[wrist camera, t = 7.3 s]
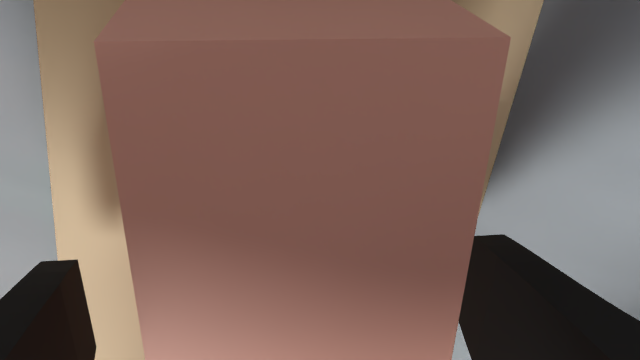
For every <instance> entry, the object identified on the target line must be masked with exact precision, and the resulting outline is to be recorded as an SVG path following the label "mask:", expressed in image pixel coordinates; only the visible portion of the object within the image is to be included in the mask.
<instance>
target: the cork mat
mask: <svg viewBox="0 0 640 360" xmlns="http://www.w3.org/2000/svg"><path fill="white" fill-rule="evenodd" d="M33 1H34V12H35V23H36V33H37V44H38V54H39V65H40V76H41V86H42V97H43V108H44V118H45V129H46V139H47V150H48V161H49V171H50V182H51V192H52V203H53V214H54V224H55V235H56V246H57V256H58V261H60V260H77V259H78V263H79V268H80V272H81V277H82V282H83V286H84V291H85V296H86V300H87V305H88V310H89V314H90V319H91V324H92V328H93V333H94V337H95V342H96V354H95V360H145V355H144V349H143V343H142V337H141V331H140V325H139V318H138V312H137V306H136V300H135V294H134V288H133V281H132V275H131V269H130V263H129V257H128V251H127V244H126V238H125V232H124V226H123V220H122V214H121V207H120V201H119V195H118V189H117V183H116V177H115V170H114V164H113V158H112V152H111V146H110V139H109V133H108V127H107V121H106V115H105V109H104V102H103V96H102V90H101V84H100V78H99V72H98V65H97V59H96V53H95V47H94V40H95V39H96V38H97V37H98V35H99V34H100V33H101V31H102V30H103V29H104V27H105V26H106V25H107V23H108V22H109V21H110V19H111V18H112V17H113V15H114V14H115V13H116V11H117V10H118V9H119V7H120V6H121V5H122V3H123V2H124V1H125V0H33ZM452 1H453V2H455V3H456V4H458V5H460V6H461V7H463V8H465V9H466V10H468V11H469V12H471V13H473V14H474V15H476V16H477V17H479V18H481V19H482V20H484V21H486V22H487V23H489V24H490V25H492V26H494V27H495V28H497V29H498V30H500V31H502V32H503V33H505V34H507V35H508V36H510V37H511V40H510V45H509V51H508V56H507V62H506V67H505V73H504V78H503V83H502V89H501V94H500V100H499V105H498V110H497V116H496V121H495V127H494V132H493V137H492V143H491V148H490V154H489V159H488V164H487V170H486V175H485V181H484V186H483V191H482V197H481V202H480V208H481V205H482V202H483V198H484V195H485V192H486V189H487V185H488V182H489V179H490V175H491V172H492V169H493V166H494V162H495V159H496V156H497V152H498V149H499V146H500V143H501V139H502V136H503V133H504V129H505V126H506V123H507V120H508V116H509V113H510V110H511V106H512V103H513V100H514V97H515V93H516V90H517V87H518V83H519V80H520V77H521V74H522V70H523V67H524V64H525V61H526V57H527V54H528V51H529V47H530V44H531V41H532V38H533V34H534V31H535V28H536V24H537V21H538V18H539V15H540V11H541V8H542V5H543V1H544V0H452ZM480 208H479V212H480ZM478 215H479V213H478Z"/></svg>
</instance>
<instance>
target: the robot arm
mask: <svg viewBox="0 0 640 360" xmlns="http://www.w3.org/2000/svg"><path fill="white" fill-rule="evenodd" d="M459 324H460V327H461V330H462V333H463V336H464V339H465V342H466V345H467V348H468V350H469V353H470V356H471V359H472V360H640V321H639V320H637V319H635V318H634V317H632V316H630V315H629V314H627V313H625V312H624V311H622V310H620V309H619V308H617V307H615V306H614V305H612V304H611V303H609V302H607V301H606V300H604V299H603V298H601V297H599V296H598V295H596V294H595V293H593V292H592V291H590V290H589V289H587V288H585V287H584V286H582V285H581V284H579V283H578V282H576V281H575V280H573V279H572V278H570V277H569V276H567V275H566V274H564V273H563V272H561V271H560V270H558V269H557V268H555V267H554V266H552V265H551V264H549V263H548V262H546V261H545V260H543V259H542V258H540V257H539V256H537V255H536V254H534V253H533V252H531V251H530V250H528V249H527V248H525V247H523V246H522V245H520V244H519V243H517V242H516V241H514V240H512V239H511V238H509V237H507V236H505V235H486V236H474V240H473V245H472V251H471V256H470V262H469V267H468V272H467V278H466V283H465V289H464V294H463V299H462V305H461V310H460V316H459ZM95 354H96V342H95V337H94V333H93V328H92V324H91V319H90V314H89V310H88V305H87V300H86V296H85V291H84V286H83V282H82V277H81V272H80V268H79V263H78V259H77V260H60V261H43V262H40V263H39V264H38V265H37V266H35V267H34V268H33V269H32V270H31V271H30V272H29V273H28V274H27V275H26V276H25V277H24V278H22V279H21V280H20V281H19V282H18V283H17V284H16V285H15V286H14V287H13V288H12V289H11V290H10V291H9V292H8V293H7V294H6V295H5V296H4V297H2V298H1V299H0V360H95Z"/></svg>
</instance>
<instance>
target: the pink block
mask: <svg viewBox="0 0 640 360" xmlns="http://www.w3.org/2000/svg"><path fill="white" fill-rule="evenodd" d="M510 40H511V37H510V36H508V35H507V34H505V33H503V32H502V31H500V30H498V29H497V28H495V27H494V26H492V25H490V24H489V23H487V22H486V21H484V20H482V19H481V18H479V17H477V16H476V15H474V14H473V13H471V12H469V11H468V10H466V9H465V8H463V7H461V6H460V5H458V4H456V3H455V2H453V1H452V0H125V1H124V2H123V3H122V5H121V6H120V7H119V9H118V10H117V11H116V13H115V14H114V15H113V17H112V18H111V19H110V21H109V22H108V23H107V25H106V26H105V27H104V29H103V30H102V31H101V33H100V34H99V35H98V37H97V38H96V39H95V40H94V47H95V53H96V59H97V65H98V72H99V78H100V84H101V90H102V96H103V102H104V109H105V115H106V121H107V127H108V133H109V139H110V146H111V152H112V158H113V164H114V170H115V177H116V183H117V189H118V195H119V201H120V207H121V214H122V220H123V226H124V232H125V238H126V244H127V251H128V257H129V263H130V269H131V275H132V281H133V288H134V294H135V300H136V306H137V312H138V318H139V325H140V331H141V337H142V343H143V349H144V355H145V360H451V359H452V353H453V348H454V343H455V337H456V332H457V326H458V321H459V316H460V310H461V305H462V299H463V294H464V289H465V283H466V278H467V272H468V267H469V262H470V256H471V251H472V245H473V240H474V235H475V229H476V224H477V218H478V213H479V208H480V202H481V197H482V191H483V186H484V181H485V175H486V170H487V164H488V159H489V154H490V148H491V143H492V137H493V132H494V127H495V121H496V116H497V110H498V105H499V100H500V94H501V89H502V83H503V78H504V73H505V67H506V62H507V56H508V51H509V45H510Z"/></svg>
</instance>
